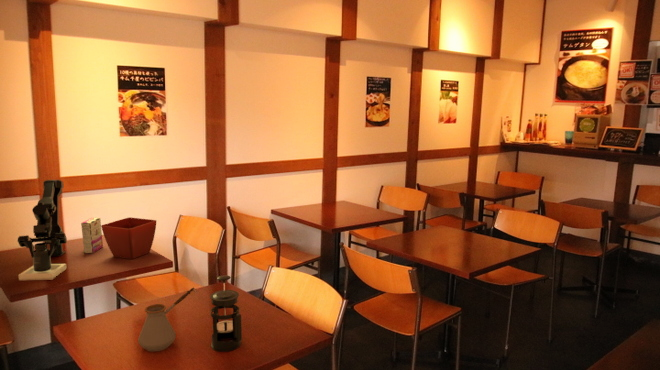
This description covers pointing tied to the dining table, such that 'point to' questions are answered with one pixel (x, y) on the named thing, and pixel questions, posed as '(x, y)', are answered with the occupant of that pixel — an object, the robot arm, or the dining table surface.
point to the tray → (43, 273)
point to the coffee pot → (158, 327)
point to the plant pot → (129, 237)
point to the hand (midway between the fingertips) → (41, 256)
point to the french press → (226, 327)
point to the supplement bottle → (41, 258)
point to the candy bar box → (92, 235)
